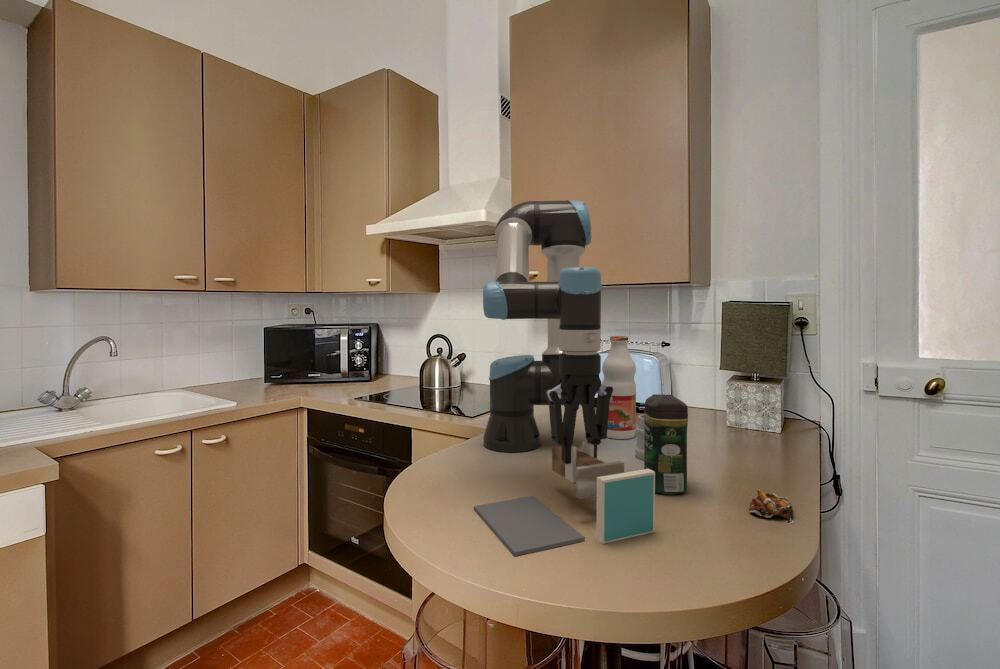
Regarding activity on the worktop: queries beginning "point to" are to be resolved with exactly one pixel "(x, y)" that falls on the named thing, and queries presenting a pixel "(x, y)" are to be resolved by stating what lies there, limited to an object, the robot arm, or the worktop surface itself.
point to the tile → (625, 505)
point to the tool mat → (527, 525)
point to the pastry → (771, 505)
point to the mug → (640, 437)
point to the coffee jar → (666, 442)
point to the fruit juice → (620, 389)
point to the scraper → (585, 470)
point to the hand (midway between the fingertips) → (579, 478)
